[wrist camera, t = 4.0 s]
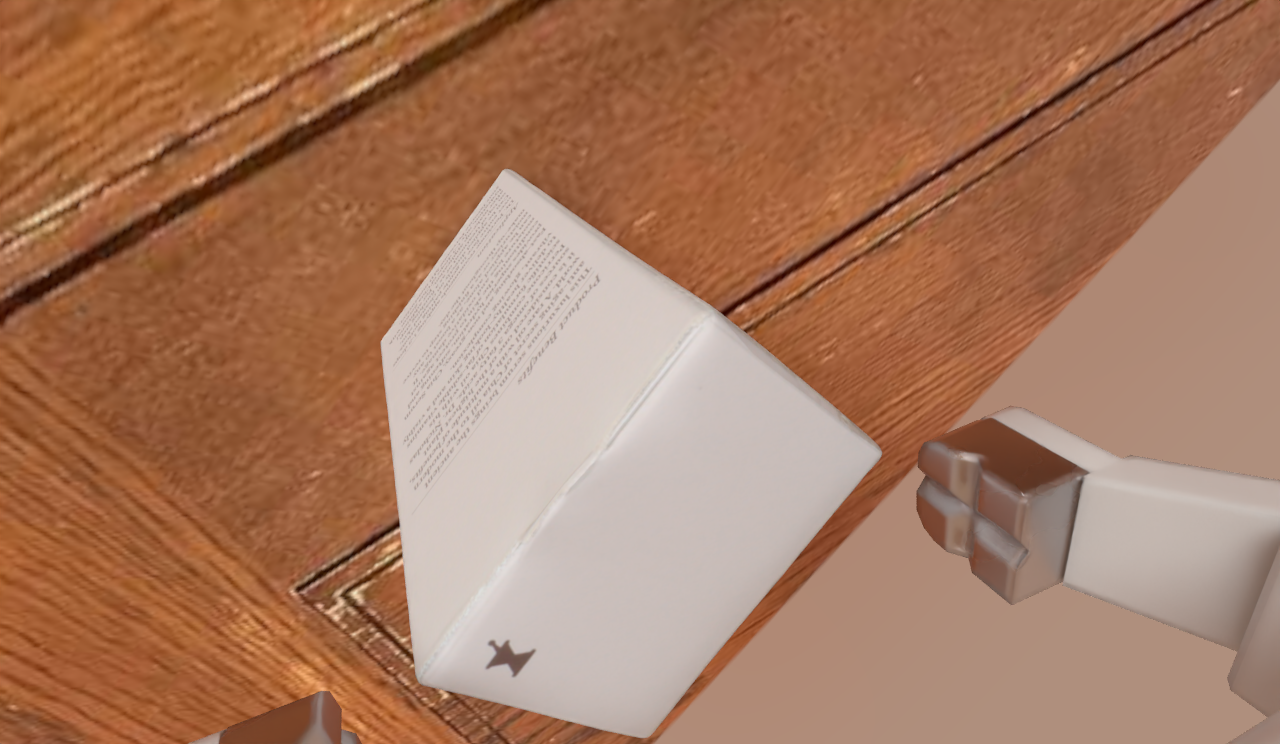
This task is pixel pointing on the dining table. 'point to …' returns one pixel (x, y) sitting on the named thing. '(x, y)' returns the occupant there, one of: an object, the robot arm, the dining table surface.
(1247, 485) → the robot arm
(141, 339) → the dining table surface
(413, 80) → the dining table surface
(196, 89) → the dining table surface
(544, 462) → the cosmetic box
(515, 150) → the dining table surface
